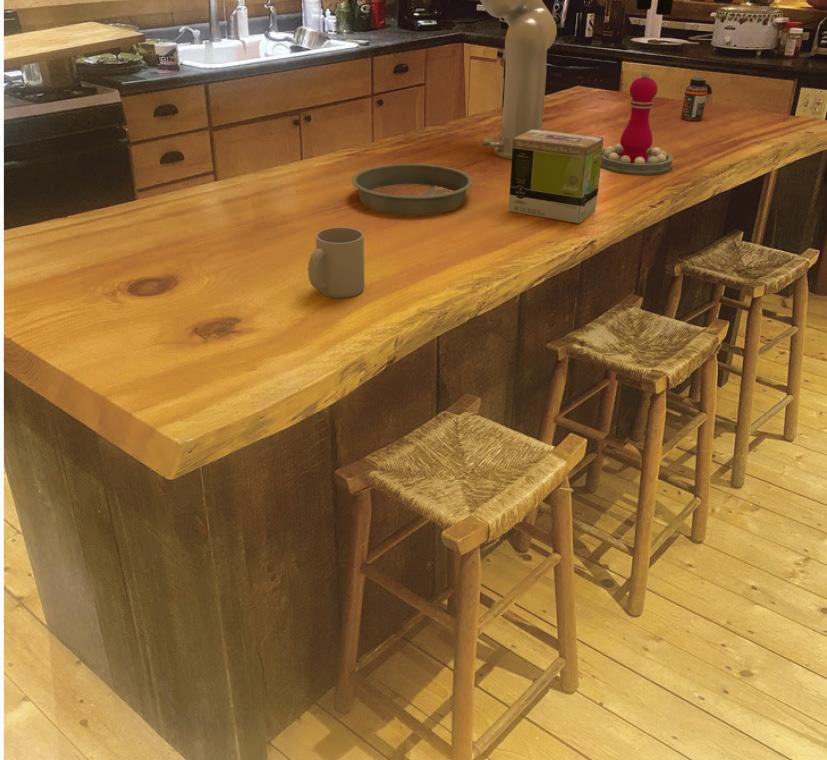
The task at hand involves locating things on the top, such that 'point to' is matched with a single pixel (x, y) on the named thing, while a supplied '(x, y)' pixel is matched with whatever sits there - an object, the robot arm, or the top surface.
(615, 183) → the top surface
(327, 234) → the cup
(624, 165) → the bead tray
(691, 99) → the supplement bottle
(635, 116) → the pepper mill
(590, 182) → the tea box
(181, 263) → the top surface
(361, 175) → the cake pan
